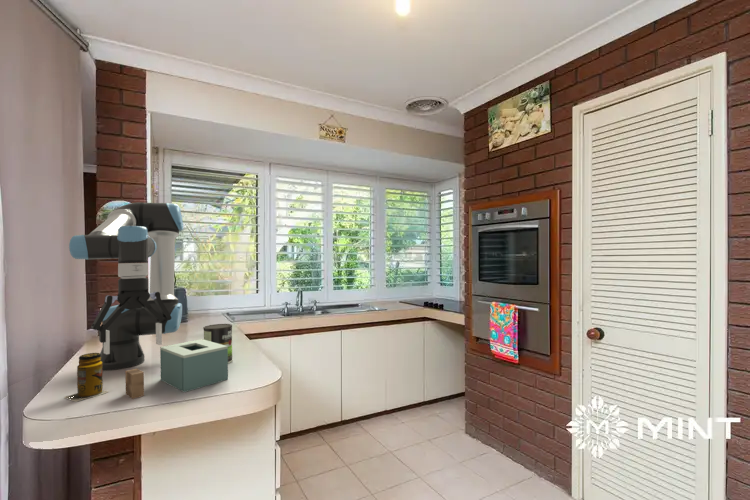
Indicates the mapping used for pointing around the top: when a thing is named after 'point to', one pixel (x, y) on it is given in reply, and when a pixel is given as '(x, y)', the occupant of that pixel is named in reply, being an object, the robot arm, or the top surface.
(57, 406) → the top surface
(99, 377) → the condiment
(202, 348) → the teal box with hole
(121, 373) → the top surface
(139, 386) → the tan upright block
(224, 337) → the coffee can
